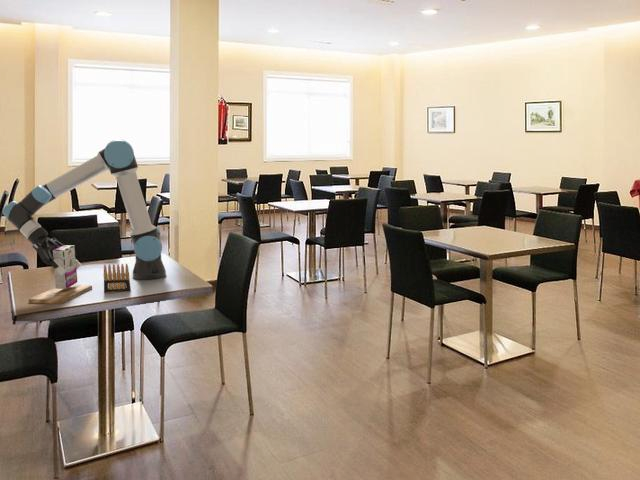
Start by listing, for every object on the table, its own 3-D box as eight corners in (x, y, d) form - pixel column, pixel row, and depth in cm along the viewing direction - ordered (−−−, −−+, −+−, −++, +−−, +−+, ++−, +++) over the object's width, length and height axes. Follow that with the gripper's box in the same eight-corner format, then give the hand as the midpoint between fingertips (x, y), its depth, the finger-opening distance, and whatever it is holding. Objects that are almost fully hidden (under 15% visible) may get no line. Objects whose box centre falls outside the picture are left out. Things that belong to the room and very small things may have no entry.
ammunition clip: (130, 290, 260) (129, 262, 258) (130, 291, 258) (128, 263, 256) (104, 291, 258) (102, 263, 256) (104, 292, 257) (102, 264, 255)
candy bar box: (66, 282, 262) (63, 245, 259) (77, 282, 262) (75, 245, 259) (54, 288, 251) (51, 249, 248) (66, 288, 251) (64, 249, 248)
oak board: (92, 288, 263) (91, 285, 263) (62, 303, 240) (61, 299, 239) (61, 288, 265) (61, 284, 265) (29, 302, 241) (28, 298, 241)
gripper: (45, 234, 267) (80, 269, 267) (11, 243, 244) (50, 282, 244) (55, 222, 265) (91, 258, 266) (22, 230, 242) (61, 269, 243)
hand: (71, 269), depth 255 cm, fingers closed on candy bar box, 11 cm apart
